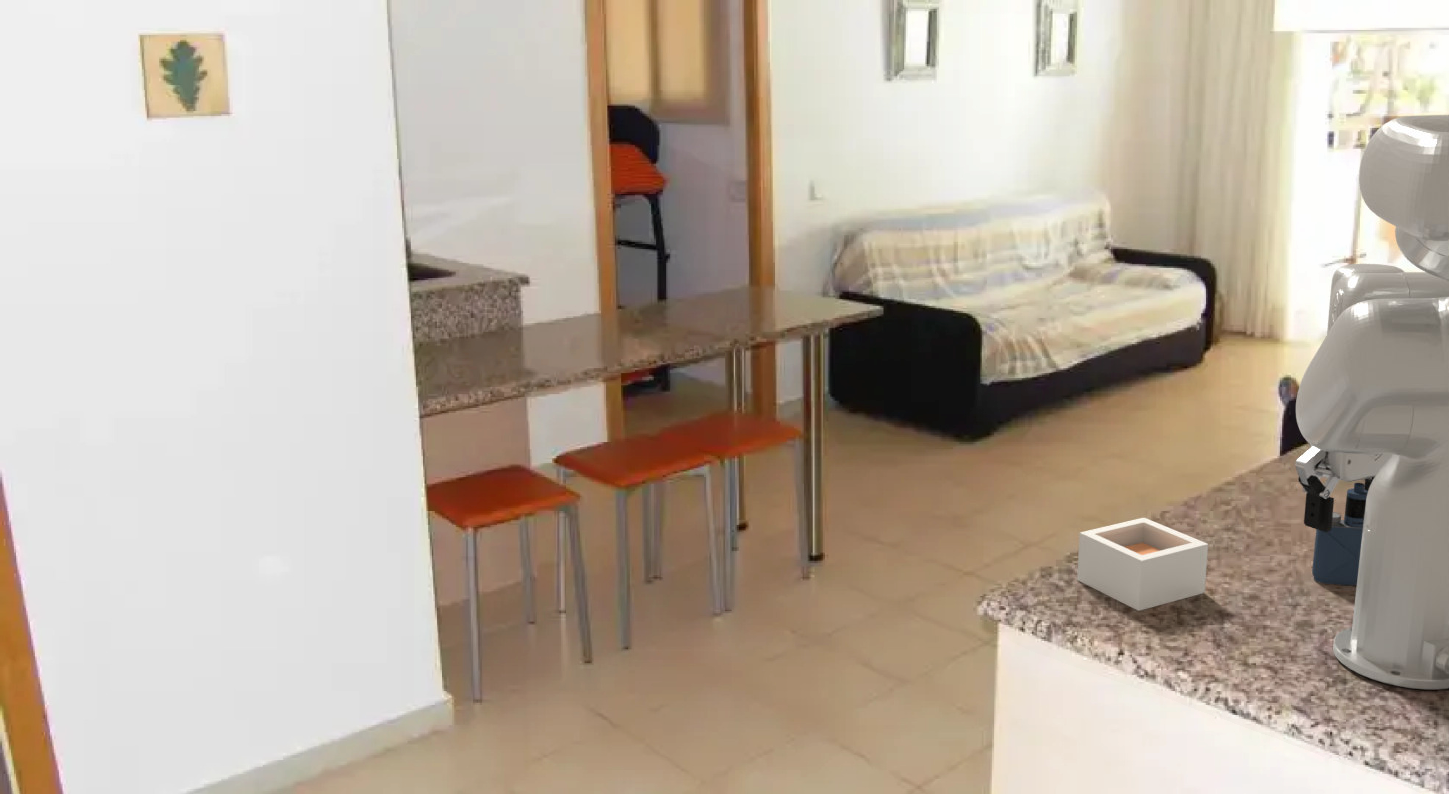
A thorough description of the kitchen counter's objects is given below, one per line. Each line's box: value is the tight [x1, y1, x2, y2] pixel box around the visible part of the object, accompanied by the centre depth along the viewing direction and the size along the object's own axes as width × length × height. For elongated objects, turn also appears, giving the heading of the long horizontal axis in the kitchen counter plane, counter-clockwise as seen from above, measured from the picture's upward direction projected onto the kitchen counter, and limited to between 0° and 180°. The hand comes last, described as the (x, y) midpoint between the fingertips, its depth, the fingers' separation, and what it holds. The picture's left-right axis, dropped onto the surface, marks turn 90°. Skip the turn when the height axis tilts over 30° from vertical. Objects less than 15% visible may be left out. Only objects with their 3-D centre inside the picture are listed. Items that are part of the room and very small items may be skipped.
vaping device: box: [1311, 482, 1368, 586], centre depth 146 cm, size 3×5×12 cm, turn 76°
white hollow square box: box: [1076, 517, 1209, 612], centre depth 146 cm, size 10×10×6 cm
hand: (1346, 521), depth 145 cm, fingers open, 9 cm apart
